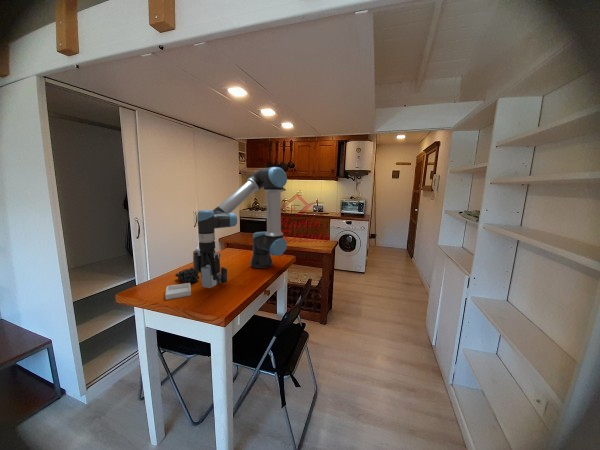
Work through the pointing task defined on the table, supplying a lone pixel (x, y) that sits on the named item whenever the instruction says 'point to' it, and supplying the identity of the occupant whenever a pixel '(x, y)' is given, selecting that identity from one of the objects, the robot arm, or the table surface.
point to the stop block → (206, 276)
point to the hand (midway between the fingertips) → (209, 284)
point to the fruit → (188, 275)
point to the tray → (178, 291)
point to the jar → (195, 259)
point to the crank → (222, 275)
